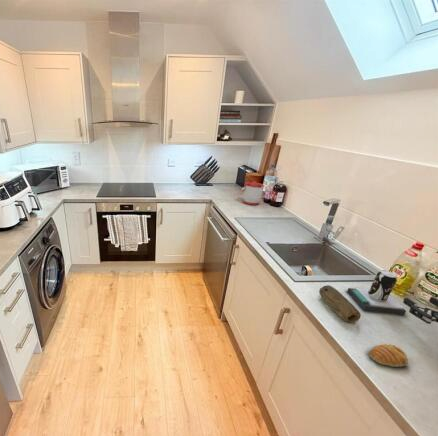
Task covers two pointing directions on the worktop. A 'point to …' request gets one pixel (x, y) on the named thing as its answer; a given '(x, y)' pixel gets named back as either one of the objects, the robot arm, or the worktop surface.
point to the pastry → (389, 355)
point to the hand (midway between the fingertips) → (417, 299)
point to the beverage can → (382, 285)
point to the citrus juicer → (252, 192)
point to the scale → (375, 302)
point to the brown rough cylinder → (339, 304)
